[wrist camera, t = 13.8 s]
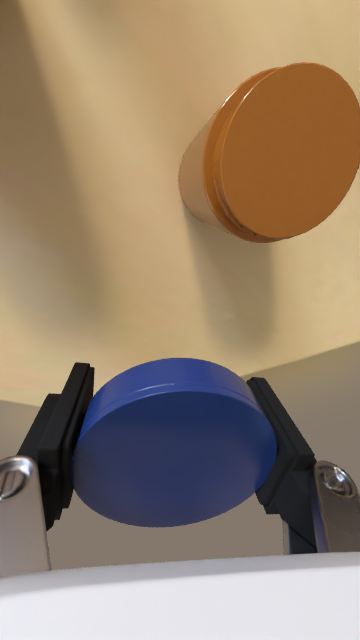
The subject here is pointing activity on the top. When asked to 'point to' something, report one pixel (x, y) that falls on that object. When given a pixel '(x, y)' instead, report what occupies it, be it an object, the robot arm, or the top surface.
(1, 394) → the top surface
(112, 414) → the lid
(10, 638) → the robot arm
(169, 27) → the top surface
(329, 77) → the jar
